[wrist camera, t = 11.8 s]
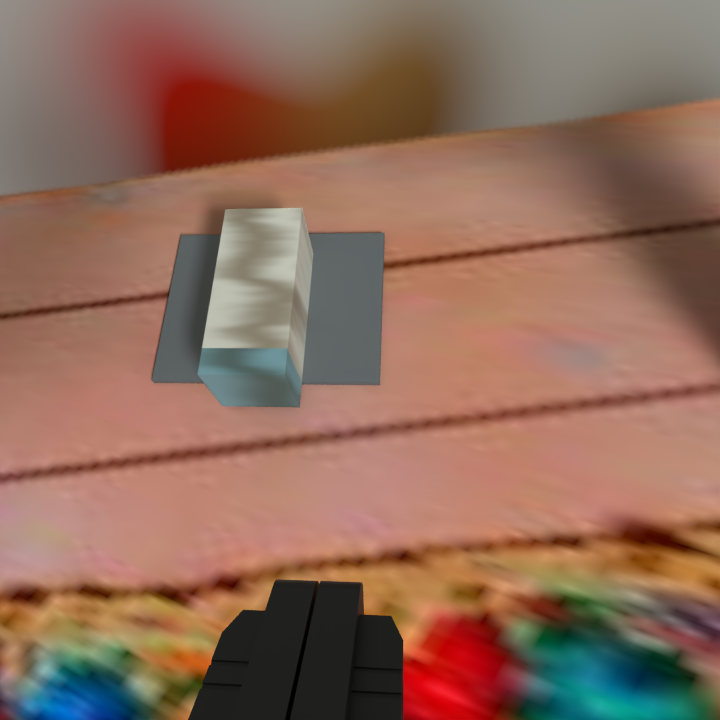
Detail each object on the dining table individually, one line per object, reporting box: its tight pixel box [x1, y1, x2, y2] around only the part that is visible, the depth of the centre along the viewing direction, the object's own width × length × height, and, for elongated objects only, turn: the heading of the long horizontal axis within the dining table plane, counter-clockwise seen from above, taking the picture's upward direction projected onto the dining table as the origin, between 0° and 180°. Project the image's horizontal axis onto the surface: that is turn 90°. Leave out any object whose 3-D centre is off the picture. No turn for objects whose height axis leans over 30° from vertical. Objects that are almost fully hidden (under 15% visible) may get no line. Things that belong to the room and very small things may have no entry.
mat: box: [152, 233, 384, 385], centre depth 51 cm, size 18×14×1 cm
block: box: [198, 208, 313, 407], centre depth 47 cm, size 6×6×14 cm
